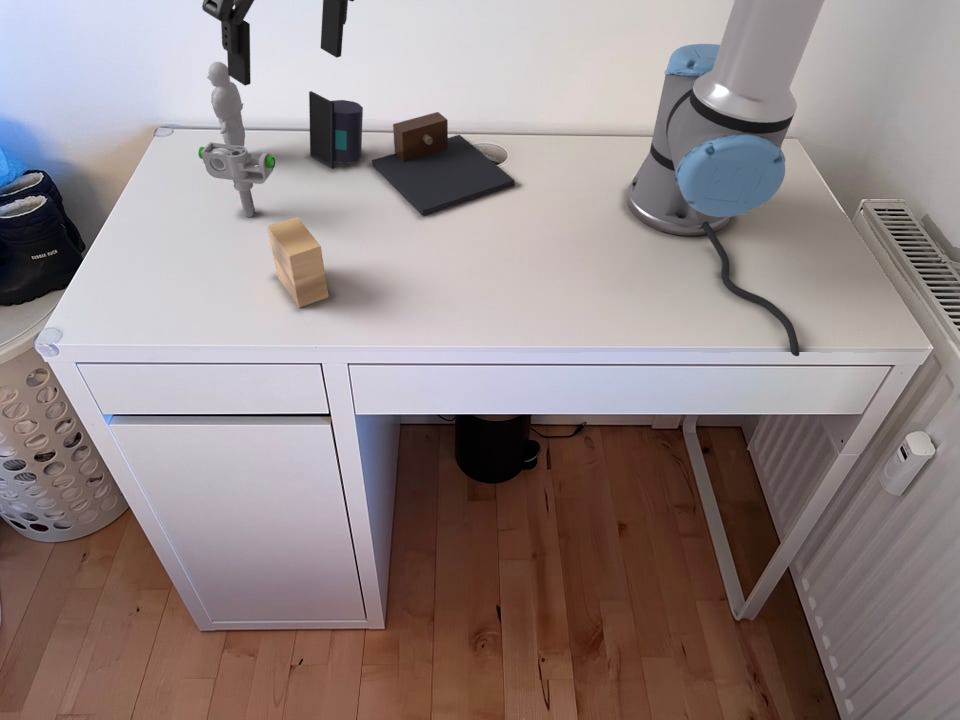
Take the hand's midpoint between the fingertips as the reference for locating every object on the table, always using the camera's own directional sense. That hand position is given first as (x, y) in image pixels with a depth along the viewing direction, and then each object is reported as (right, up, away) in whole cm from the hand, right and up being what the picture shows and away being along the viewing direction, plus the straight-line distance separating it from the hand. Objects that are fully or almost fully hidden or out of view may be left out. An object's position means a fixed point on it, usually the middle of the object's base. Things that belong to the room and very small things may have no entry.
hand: (287, 65), depth 85 cm
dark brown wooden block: (+13, 0, +33) cm, 36 cm away
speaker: (0, -1, +33) cm, 34 cm away
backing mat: (+16, -5, +30) cm, 35 cm away
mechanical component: (-11, -13, +22) cm, 28 cm away
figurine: (-16, -2, +33) cm, 36 cm away
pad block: (-1, -24, +11) cm, 26 cm away
